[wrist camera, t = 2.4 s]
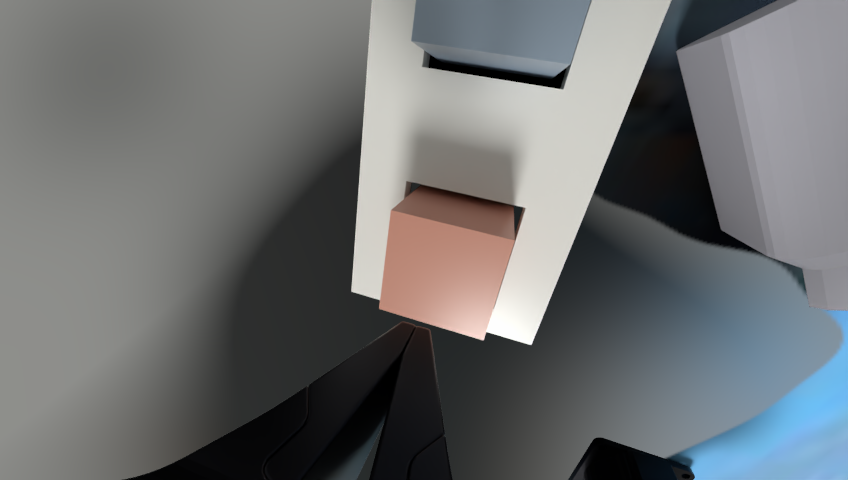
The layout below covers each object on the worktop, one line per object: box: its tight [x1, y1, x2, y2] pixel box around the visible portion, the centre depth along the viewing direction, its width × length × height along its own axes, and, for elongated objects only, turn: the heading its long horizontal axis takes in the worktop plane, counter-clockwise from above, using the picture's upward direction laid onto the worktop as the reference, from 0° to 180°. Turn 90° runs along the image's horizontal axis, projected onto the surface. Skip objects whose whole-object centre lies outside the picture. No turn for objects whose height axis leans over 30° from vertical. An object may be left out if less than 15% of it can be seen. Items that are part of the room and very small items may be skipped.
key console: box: [352, 0, 671, 345], centre depth 15 cm, size 18×10×4 cm, turn 171°
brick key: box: [379, 185, 515, 340], centre depth 14 cm, size 5×5×4 cm
